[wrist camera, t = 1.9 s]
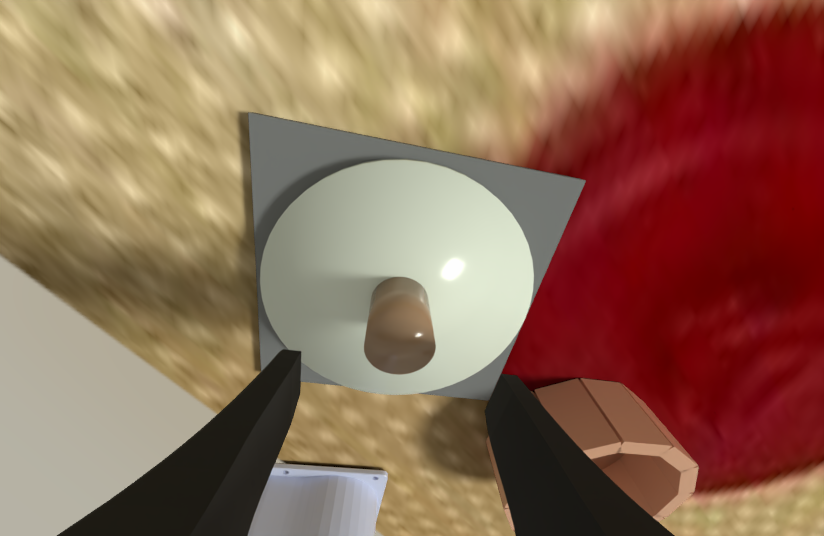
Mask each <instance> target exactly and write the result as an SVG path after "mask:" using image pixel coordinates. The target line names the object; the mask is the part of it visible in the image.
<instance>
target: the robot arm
mask: <svg viewBox="0 0 824 536" xmlns="http://www.w3.org/2000/svg"><path fill="white" fill-rule="evenodd" d="M300 384H301V351H295V350H286V349H283V350H281V351H279V353H278V354H277V355H276V356H275V357H274V358H273V359H272V361H271V362H270V363H269V364H268V365H267V366H266V367H265V368H264V369H263V370H262V371H261V373H260V374H259V375H258V376H257V377H256V378H255V379H254V380H253V381H252V382H251V383H250V384H249V385H248V386H247V387H246V388H245V389H244V390H243V391H242V392H241V393H240V394H239V395H238V396H237V397H236V398H235V399H234V400H233V401H232V402H231V403H230V404H228V405H227V406H226V407H225V408H224V409H223V410H222V411H221V412H220V413H219V414H217V415H216V416H215V418H213V419H212V420H211V421H210V422H209V423H208V424H206V425H205V426H204V427H203V428H202V429H201V430H200V431H198V432H197V433H196V434H195V435H194V436H193V437H191V438H190V439H189V440H188V441H186V442H185V443H184V444H183V445H182V446H180V447H179V448H178V449H177V450H176V451H174V452H173V453H172V454H170V455H169V456H168V457H167V458H165V459H164V460H163V461H162V462H160V463H159V464H158V465H156V466H155V467H154V468H152V469H151V470H150V471H148V472H147V473H146V474H144V475H143V476H142V477H140V478H139V479H138V480H137V481H135V482H134V483H132V484H131V485H130V486H128V487H127V488H125V489H124V490H123V491H121V492H120V493H119V494H117V495H116V496H114V497H113V498H112V499H110V500H109V501H107V502H106V503H104V504H103V505H102V506H100V507H99V508H97V509H95V510H94V511H93V512H91V513H90V514H88V515H87V516H85V517H84V518H82V519H81V520H79V521H78V522H76V523H75V524H73V525H72V526H70V527H69V528H68V529H66V530H65V531H63V532H62V533H60V534H59V535H57V536H375V525H376V520H377V516H378V512H379V509H380V505H381V501H382V497H383V494H384V490H385V486H386V482H387V479H388V473H387V472H386V471H383V470H370V469H355V468H341V467H326V466H312V465H297V464H283V463H275V462H276V459H277V457H278V454H279V452H280V450H281V447H282V445H283V442H284V440H285V437H286V435H287V433H288V430H289V428H290V425H291V422H292V419H293V416H294V412H295V409H296V406H297V402H298V399H299V395H300ZM485 415H486V422H487V428H488V434H489V439H490V443H491V447H492V451H493V454H494V458H495V461H496V465H497V468H498V472H499V475H500V479H501V482H502V485H503V489H504V492H505V496H506V499H507V503H508V506H509V510H510V513H511V517H512V521H513V525H514V529H515V534H516V536H674V535H673V534H672V533H671V532H669V531H668V530H667V529H666V528H665V527H664V526H662V525H661V524H660V523H659V522H658V521H657V520H655V519H654V518H653V517H652V516H651V515H650V514H648V513H647V512H646V511H645V510H644V509H643V508H641V507H640V506H639V505H638V504H637V503H636V502H635V501H634V500H633V499H631V498H630V497H629V496H628V495H627V494H626V493H625V492H624V491H623V490H622V489H621V488H620V487H619V486H618V485H616V484H615V483H614V482H613V481H612V480H611V479H610V478H609V477H608V476H607V475H606V474H605V473H604V472H603V471H602V470H601V469H600V468H599V467H598V466H597V465H596V464H595V463H594V462H593V461H592V460H591V459H590V458H589V457H588V456H587V455H586V454H585V453H584V452H583V451H582V449H581V448H580V447H579V446H578V445H577V444H576V443H575V442H574V441H573V440H572V439H571V438H570V437H569V435H568V434H567V433H566V432H565V431H564V430H563V429H562V428H561V426H560V425H559V424H558V423H557V422H556V421H555V420H554V418H553V417H552V416H551V415H550V414H549V413H548V411H547V410H546V409H545V408H544V407H543V406H542V404H541V403H540V402H539V401H538V400H537V398H536V397H535V396H534V395H533V394H532V393H531V391H530V390H529V389H528V388H527V387H526V385H525V384H524V383H523V382H522V381H521V380H520V379H519V378H518V376H516V375H507V374H501V376H500V378H499V380H498V382H497V385H496V387H495V389H494V391H493V394H492V396H491V398H490V400H489V402H488V405H487V407H486V409H485Z"/></svg>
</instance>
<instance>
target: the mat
mask: <svg viewBox="0 0 824 536" xmlns="http://www.w3.org/2000/svg"><path fill="white" fill-rule="evenodd" d="M248 116H249V136H250V156H251V176H252V197H253V217H254V237H255V257H256V277H257V297H258V317H259V338H260V358H261V371H262V370H263V369H264V368H265V367H266V366H267V365H268V364H269V363H270V362H271V361H272V359H273V358H274V357H275V356H276V355H277V354H278V353H279V351H281V350H283V349H286V350H288V348H287V347H286V346H285V345H284V343H283V342H282V341H281V340H280V338H279V337H278V335H277V334H276V332H275V330H274V329H273V327H272V325H271V323H270V321H269V318H268V316H267V314H266V311H265V307H264V304H263V300H262V295H261V287H260V267H261V262H262V257H263V252H264V249H265V246H266V243H267V241H268V238H269V235H270V233H271V231H272V230H273V228H274V226H275V224H276V223H277V221H278V219H279V218H280V217H281V215H282V214H283V213H284V212H285V210H286V209H287V208H288V207H289V206H290V204H291V203H292V202H294V201H295V200H296V199H297V198H298V197H299V196H300V195H301V194H302V193H304V192H305V191H306V190H307V189H308V188H310V187H311V186H312V185H314V184H315V183H317V182H318V181H320V180H321V179H323V178H324V177H326V176H328V175H330V174H332V173H334V172H337V171H339V170H341V169H343V168H346V167H349V166H352V165H355V164H359V163H362V162H367V161H373V160H379V159H398V158H406V159H415V160H423V161H428V162H432V163H436V164H439V165H443V166H446V167H449V168H451V169H453V170H456V171H458V172H461V173H463V174H465V175H466V176H468V177H470V178H471V179H473V180H475V181H476V182H478V183H480V184H481V185H482V186H483V187H485V188H486V189H487V190H488V191H489V192H491V193H492V194H493V195H494V196H496V197H497V198H498V199H499V200H500V201H501V202H502V203H503V204H504V205H505V207H506V208H507V209H508V210H509V211H510V212H511V213H512V215H513V216H514V218H515V219H516V221H517V222H518V224H519V226H520V227H521V229H522V231H523V233H524V236H525V238H526V240H527V242H528V245H529V249H530V253H531V256H532V261H533V271H534V283H533V293H532V298H531V303H530V306H531V304H532V302H533V299H534V297H535V295H536V293H537V290H538V288H539V286H540V284H541V281H542V279H543V277H544V274H545V272H546V270H547V268H548V265H549V263H550V261H551V259H552V256H553V254H554V252H555V250H556V247H557V245H558V243H559V240H560V238H561V236H562V234H563V231H564V229H565V227H566V225H567V222H568V220H569V218H570V216H571V213H572V211H573V209H574V207H575V204H576V202H577V200H578V197H579V195H580V193H581V191H582V188H583V186H584V184H585V182H586V181H585V180H582V179H578V178H574V177H569V176H564V175H559V174H554V173H549V172H544V171H539V170H534V169H529V168H524V167H519V166H514V165H509V164H504V163H500V162H495V161H490V160H485V159H480V158H475V157H470V156H465V155H460V154H455V153H450V152H445V151H440V150H435V149H430V148H426V147H421V146H416V145H411V144H406V143H401V142H396V141H391V140H386V139H381V138H376V137H371V136H366V135H361V134H356V133H352V132H347V131H342V130H337V129H332V128H327V127H322V126H317V125H312V124H307V123H302V122H297V121H292V120H287V119H283V118H278V117H273V116H268V115H263V114H258V113H248ZM529 308H530V307H529ZM528 311H529V309H528ZM527 313H528V312H527ZM521 327H522V326H521ZM520 329H521V328H520ZM520 329H519V331H520ZM519 331H518V333H519ZM518 333H517V334H516V336H515V337H514V339H513V340H512V341H511V343H510V344H509V345H508V346H507V347H506V349H505V350H504V351H503V352H502V353H501V354H500V355H499V356H498V357H497V358H496V359H494V360H493V361H492V362H491V363H490V364H488V365H487V366H486V367H484V368H483V369H481V370H480V371H479V372H477V373H475V374H473V375H472V376H470V377H468V378H466V379H464V380H462V381H460V382H457V383H455V384H453V385H450V386H447V387H444V388H441V389H437V390H433V391H428V392H424V393H419V394H429V395H439V396H449V397H458V398H468V399H478V400H488V401H489V399H490V397H491V395H492V392H493V390H494V388H495V385H496V383H497V381H498V379H499V376H500V374H501V372H502V370H503V367H504V365H505V363H506V361H507V358H508V356H509V354H510V351H511V349H512V347H513V345H514V342H515V340H516V338H517V336H518ZM301 382H310V383H320V384H330V385H340V384H338V383H336V382H333V381H331V380H329V379H327V378H325V377H323V376H321V375H320V374H318V373H316V372H315V371H313V370H312V369H310V368H309V367H307V366H306V365H305V364H303V363H302V362H301ZM340 386H343V385H340Z"/></svg>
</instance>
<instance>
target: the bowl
mask: <svg viewBox="0 0 824 536" xmlns="http://www.w3.org/2000/svg"><path fill="white" fill-rule="evenodd" d="M531 393H532V394H533V395H534V396H535V397H536V398H537V400H538V401H539V402H540V403H541V404H542V406H543V407H544V408H545V409H546V410H547V411H548V413H549V414H550V415H551V416H552V417H553V418H554V420H555V421H556V422H557V423H558V424H559V425H560V426H561V428H562V429H563V430H564V431H565V432H566V433H567V434H568V435H569V437H570V438H571V439H572V440H573V441H574V442H575V443H576V444H577V445H578V446H579V447H580V448H581V449H582V451H583V452H584V453H585V454H586V455H587V456H588V457H589V458H590V459H591V460H592V461H593V462H594V463H595V464H596V465H597V466H598V467H599V468H600V469H601V470H602V471H603V472H604V473H605V474H606V475H607V476H608V477H609V478H610V479H611V480H612V481H613V482H614V483H615V484H616V485H618V486H619V487H620V488H621V489H622V490H623V491H624V492H625V493H626V494H627V495H628V496H629V497H630V498H631V499H633V500H634V501H635V502H636V503H637V504H638V505H639V506H640V507H641V508H643V509H644V510H645V511H646V512H647V513H648V514H650V515H651V516H652V517H653V518H654V519H655V520H657V521H660V520H663V519H665V518H664V517H668V516H669V515H670V514H671V513H672V512H673V511H674V510H676V509H677V508H678V507H679V506H680V505H681V504H682V503H683V502H684V501H686V500H687V499H688V498H689V497H690V496H691V495H692V494H693V493H692V492H694V490H695V485H696V479H697V474H698V468H699V467H698V465H697V464H696V462H695V461H694V460H693V459H692V458H691V457H690V455H689V454H688V453H687V452H686V451H685V450H684V448H683V447H682V446H681V445H680V444H679V443H678V441H677V440H676V439H675V438H674V437H673V436H672V434H671V433H670V432H669V431H668V430H667V429H666V427H665V426H664V425H663V424H662V423H661V422H660V420H659V419H658V418H657V417H656V416H655V415H654V413H653V412H652V411H651V410H650V409H649V408H648V406H647V405H646V404H645V403H644V402H643V401H642V400H641V399H640V398H639V397H637V396H636V395H635V394H634V393H633V392H631V391H630V390H629V389H628V388H627V387H625V386H624V385H623V384H620V383H619V382H610V381H602V380H593V379H584V378H580V380H578V378H577V379H573V380H569V381H565V382H562V383H558V384H554V385H550V386H546V387H543V388H539V389H535V393H534V392H532V391H531ZM486 444H487V448H488V452H489V455H490V459H491V463H492V467H493V470H494V474H495V478H496V482H497V485H498V489H499V493H500V497H501V500H502V504H503V508H504V511H505V513H506V516H507V518H508V521H509V523H510V526H511V528H512V530H513V531H514V532H515V529H514V525H513V521H512V517H511V513H510V510H509V506H508V503H507V499H506V496H505V492H504V489H503V485H502V482H501V479H500V475H499V472H498V468H497V465H496V461H495V458H494V454H493V451H492V447H491V443H490V439H489V435H488V438H487V440H486Z"/></svg>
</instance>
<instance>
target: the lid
mask: <svg viewBox="0 0 824 536" xmlns="http://www.w3.org/2000/svg"><path fill="white" fill-rule="evenodd" d="M533 283H534V271H533V261H532V256H531V253H530V249H529V245H528V242H527V240H526V238H525V236H524V233H523V231H522V229H521V227H520V226H519V224H518V222H517V221H516V219H515V218H514V216H513V215H512V213H511V212H510V211H509V210H508V209H507V208H506V207H505V205H504V204H503V203H502V202H501V201H500V200H499V199H498V198H497V197H496V196H494V195H493V194H492V193H491V192H489V191H488V190H487V189H486V188H485V187H483V186H482V185H481V184H480V183H478V182H476V181H475V180H473V179H471V178H470V177H468V176H466V175H465V174H463V173H461V172H458V171H456V170H453V169H451V168H449V167H446V166H443V165H439V164H436V163H432V162H428V161H423V160H415V159H406V158H398V159H379V160H373V161H367V162H362V163H359V164H355V165H352V166H349V167H346V168H343V169H341V170H339V171H337V172H334V173H332V174H330V175H328V176H326V177H324V178H323V179H321V180H320V181H318V182H317V183H315V184H314V185H312V186H311V187H310V188H308V189H307V190H306V191H305V192H304V193H302V194H301V195H300V196H299V197H298V198H297V199H296V200H295V201H294V202H292V203H291V204H290V206H289V207H288V208H287V209H286V210H285V212H284V213H283V214H282V215H281V217H280V218H279V219H278V221H277V223H276V224H275V226H274V228H273V230H272V231H271V233H270V235H269V238H268V241H267V243H266V246H265V249H264V252H263V257H262V262H261V267H260V287H261V295H262V300H263V304H264V307H265V311H266V314H267V316H268V318H269V321H270V323H271V325H272V327H273V329H274V330H275V332H276V334H277V335H278V337H279V338H280V340H281V341H282V342H283V343H284V345H285V346H286V347H287V348H288V350H295V351H301V362H302V363H303V364H305V365H306V366H307V367H309V368H310V369H312V370H313V371H315V372H316V373H318V374H320V375H321V376H323V377H325V378H327V379H329V380H331V381H333V382H336V383H338V384H340V385H343V386H346V387H349V388H352V389H356V390H360V391H364V392H370V393H377V394H389V395H404V394H416V393H424V392H428V391H433V390H437V389H441V388H444V387H447V386H450V385H453V384H455V383H457V382H460V381H462V380H464V379H466V378H468V377H470V376H472V375H473V374H475V373H477V372H479V371H480V370H481V369H483V368H484V367H486V366H487V365H488V364H490V363H491V362H492V361H493V360H494V359H496V358H497V357H498V356H499V355H500V354H501V353H502V352H503V351H504V350H505V349H506V347H507V346H508V345H509V344H510V343H511V341H512V340H513V339H514V337H515V336H516V334H517V333H518V331H519V329H520V328H521V326H522V324H523V322H524V320H525V318H526V315H527V312H528V309H529V307H530V303H531V298H532V293H533Z"/></svg>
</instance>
